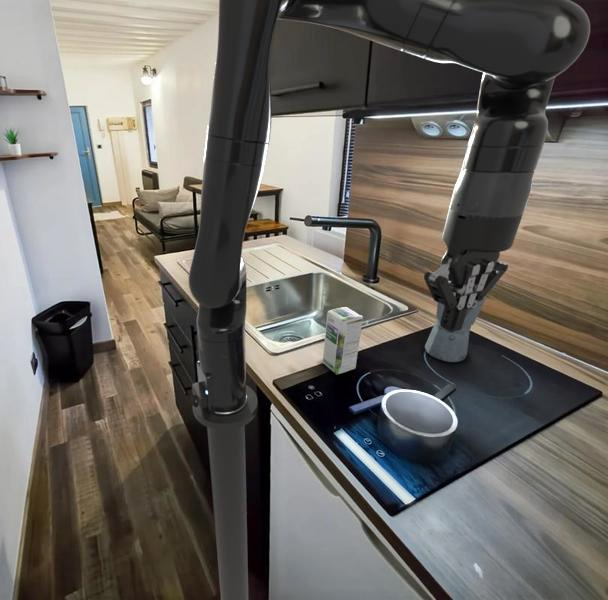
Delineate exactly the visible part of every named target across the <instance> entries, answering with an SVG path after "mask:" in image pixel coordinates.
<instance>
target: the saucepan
mask: <svg viewBox="0 0 608 600" xmlns="http://www.w3.org/2000/svg"><path fill="white" fill-rule="evenodd" d="M456 391H457V386H456V385H453V384H451V383H448V384H447V385H445V387H442V389H440V390H439V391H438V392H437V393H436V394H434V395H431V394H429V393H426V392H422V391H420V390H413V389H403V390H395V391H392V392H389V393H388V394H386V395H385V396H384V397H383V399H382V403H381V405H380V409H379V414H378V419H377V425H376V430H377V435H378V437H379V439H380V440H381V441H382V442H383V444H384V445H385V446H386V447H387V448H389V450H391V451H392V452H393V453H395V454H397V455H399V456H401V457H402V458H405V459H407V460H411V461H414V462H419V463H436V462H439V461H440V462H441V461H442V460H444V459H445V458H446V457H447V456H448V455H449V454H450V451H451V449H452V445H453V442H454V438H455V435H456V432H457V429H458V425H459V420H458V417H457V415H456V413H455V411H453V409H452V408H451V407H450V406H449V405H448V404H447V403H445V402H444V401H445V400H446V399H448V398H449V397H450V396H452V394H454V393H455V392H456Z"/></svg>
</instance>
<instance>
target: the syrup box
mask: <svg viewBox="0 0 608 600" xmlns="http://www.w3.org/2000/svg"><path fill="white" fill-rule="evenodd" d="M363 321H364V316H363V315H361V314H358V312H356V311H354V310H353V309H350V308H349V307H347V306H344V307H337V308H334V309H330V310H327V314H326V323H325V333H324V334H325V335H324V343H323V352H322V353H323V354H322V364H323V365H325V366H326V367H327V368H328V369H329V370H331V371H332V372H333V373H334V374H335V375H341V374H344V373H347V372H349V371H353V370H355V369H356V367H357V360H358V354H359V346H360V341H361V333H362V327H363Z"/></svg>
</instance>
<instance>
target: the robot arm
mask: <svg viewBox="0 0 608 600" xmlns="http://www.w3.org/2000/svg"><path fill="white" fill-rule="evenodd" d="M278 20H280V21H281V20H282V21H291V22H299V23H300V22H301V23H307V24H314V25H319V26H323V27H328V28H332V29H336V30H340V31H342V32H346V33H348V34H352V35H355V36H358V37H360V38H363V39H365V40H368V41H371V42H374V43H377V44H379V45H382V46H385V47H388V48H390V49H393V50H396V51H399V52H402V53H405V54H408V55H411V56H413V57H416V58H420V59H422V60H423V59H424V60H426V61H430V62H433V63H440V64H457V65H460V66H463V67H465V68H469V69H472V70H475V71H477V72H481V73H482V75H481V81H480V87H479V93H478V99H477V106H476V113H475V121H474V124H473V128H472V131H471V134H470V137H469V139H468V142H467V147H466V151H465V155H464V159H463V163H462V165H461V166H462V167H461V170H460V173H459V175H458V178H457V181H456V183H455V185H454V189H453V192H452V196H451V200H450V204H449V207H448V208H449V209H448V212H447V216H446V220H445V224H444V227H443V232H442V235H441V239H442V241H443V243H444V244H445V245H446V251H445V253H444V255H443V256H442V258H441V260H440V266H439V267H438V268H437V269H436V270H435V271H434V272H433V271H430V270H428V271H426V272H425V274H424V275H423V279H424V281H425V283H426V286H427V288H428V290H429V292H430V294H431V296H432V298H433V301H434V302H436V303H437V302H439V303H441V304H443V305H444V310H443V314H442V317H441V321H440V325H441V327H442V328H444V329H446V330H448V331H450V332H454V331H458V330H461V329H462V326H463V323H464V320H465V317H466V314H467V310H468V308H470V307H471V306H472V305H473V303H474V301H476V300H477V301H481V300H483V298H484V297H485V296H486V297H487V295H488V293H490V292H491V290H492V289H493V288H494V286H495V285H496V284H497V283H498V282H499V280H500V279H501V278H502V277H503V275H504V274H505V273H506V272H507V271H508V269H509V265H508V264H506V263H503V262H500V260H499V258H500V256H501V253H502V252H507V251H508V250H510V249H511V248H512V247H513V245H514V243H515V239H516V236H517V233H518V230H519V227H520V224H521V222H522V218H523V215H524V213H525V209H526V207H527V203H528V201H529V197H530V195H531V191H532V186H533V180H534V177H535V176H534V175H535V171H536V169H537V166H538V162H539V160H540V157H541V153H542V150H543V149H544V145H545V141H546V139H547V135H548V130H549V119H548V118H547V116H546V111H547V110H546V109H547V106H548V104H549V99H550V96H551V92H552V89H553V86H554V83H555V79H556V77H558V76H559V75H561V74H562V73H563V72H565V71H566V70H567V69H569V68H570V66H572V65H573V64H574V63H575V62H576V61H577V60H578V58H579V57H580V56H581V54H582V53H583V52H584V50H585V48H586V46H587V44H588V42H589V40H590V34H591V21H590V18H589V16H588V14H587V12H586V11H585V9H584V8H582V6H580V5H579V4H577V3H576V2H574V1H572V0H218V27H217V28H218V30H217V47H216V48H217V49H216V50H217V51H216V59H215V60H216V61H215V68H214V75H213V84H212V91H211V102H210V110H209V117H208V123H207V124H208V125H207V130H206V133H207V134H206V139H205V140H206V141H205V148H204V156H203V170H202V181H201V191H200V192H201V194H200V211H199V213H200V214H199V224H198V225H199V227H198V232H197V237H196V242H195V247H194V251H193V256H192V259H191V263H190V267H189V272H188V281H187V282H188V283H187V284H188V287H189V291H190V293H191V296H192V297H193V299H194V300H195V301H196V303H198V309H197V310H198V311H197V316H196V335H197V347H198V348H197V349H198V358H199V360H197V361H196V371H197V382H195V383H192V384H191V390H192V395H193V396H192V397H191V399H190V404H191V406H192V405H193V406H194V407H198V405H199V407H200V409H203V408H205V409H206V411H207V412H208V414H209V416H211V415H219V416H229V415H233V414H236V413H238V412H240V411H241V410H242V409H243V408H244V407H245V406H246V403H247V393H246V385H247V364H246V363H247V362H246V361H247V360H246V359H247V358H246V356H247V355H246V318H247V289H248V288H247V286H248V285H247V265H246V262H245V260H244V257H243V256H242V252H243V245H244V238H245V233H246V230H247V225H248V222H249V219H250V217H251V214H252V211H253V209H254V206H255V202H256V200H257V196H258V194H259V189H260V186H261V183H262V179H263V174H264V172H265V171H264V169H265V167H266V166H265V165H266V162H267V156H268V151H269V145H270V140H271V139H270V138H271V131H272V89H271V88H272V86H271V55H272V49H273V42H274V37H275V32H276V27H277V22H278ZM195 401H197V403H198V404H197V403H196V402H195Z"/></svg>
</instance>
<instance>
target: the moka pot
mask: <svg viewBox="0 0 608 600" xmlns="http://www.w3.org/2000/svg"><path fill="white" fill-rule="evenodd" d="M486 298H487V295H486V296H485V297H484V298H483V300H481V301H477V300H476V301H474V303H473V305H472V306H471V307H470V308H468V310H467V314H466V317H465V320H464V323H463V326H462V329H461V330H458V331H454V332H450V331H448V330H446V329H444V328H442V327H441V325H440V321H441V317H442V314H443V310H444V305H443V304H441V303H439V302H436V303H437V304H436V314H435V318H436V319H435V323H434V325H433V327H432V329H431V331H430V334H429V336H428V338H427V340H426V342H425V345H424V349H425V351H426V352H427V354H429V356H431V357H433V358H434V359H437V360H439V361H443V362H446V363H447V362H448V363H459V362H462V361H464V360H465V359H466V357H467V355H468V350H469V339H470V331H471V328H472V326H473V325H474V324H475V322H476V321H477V318H478V316H479V314H480V312H481V310H482V308H483V306H484V304H485V303H486Z"/></svg>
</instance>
